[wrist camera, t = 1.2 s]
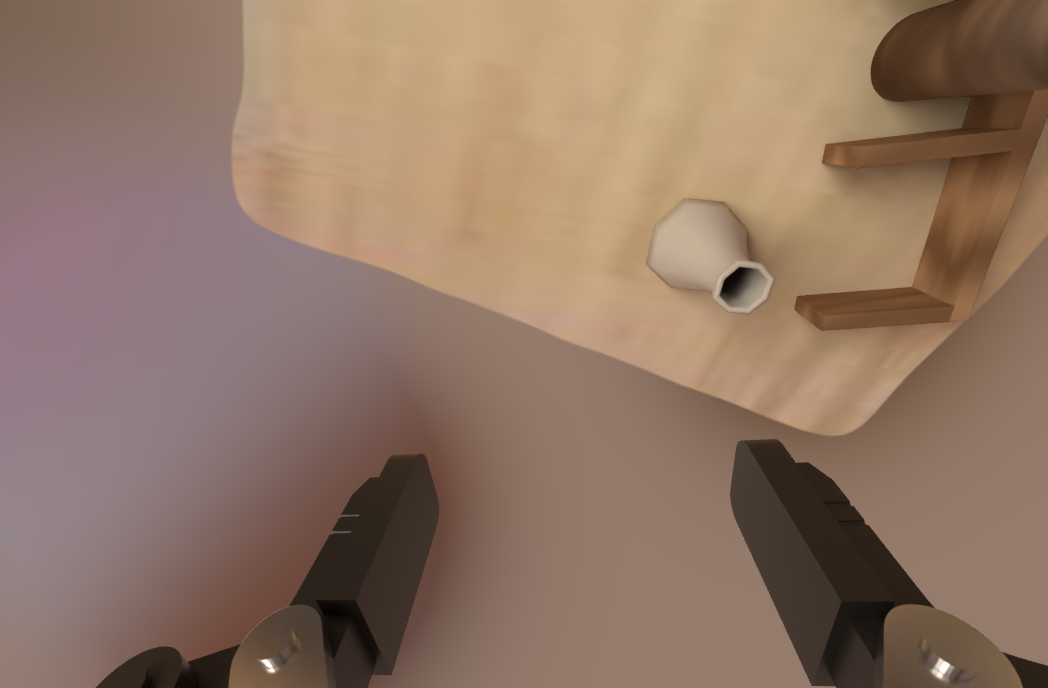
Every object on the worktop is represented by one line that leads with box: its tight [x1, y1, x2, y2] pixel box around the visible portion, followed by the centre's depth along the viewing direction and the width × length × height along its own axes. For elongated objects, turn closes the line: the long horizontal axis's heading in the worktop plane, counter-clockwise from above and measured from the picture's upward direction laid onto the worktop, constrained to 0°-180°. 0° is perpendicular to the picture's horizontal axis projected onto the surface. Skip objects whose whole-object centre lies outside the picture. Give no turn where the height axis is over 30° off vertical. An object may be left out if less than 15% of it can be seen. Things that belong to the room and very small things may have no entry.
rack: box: [795, 90, 1048, 331], centre depth 27 cm, size 23×10×4 cm, turn 7°
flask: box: [646, 199, 775, 314], centre depth 28 cm, size 7×7×10 cm
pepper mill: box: [871, 0, 1048, 101], centre depth 20 cm, size 5×5×14 cm
